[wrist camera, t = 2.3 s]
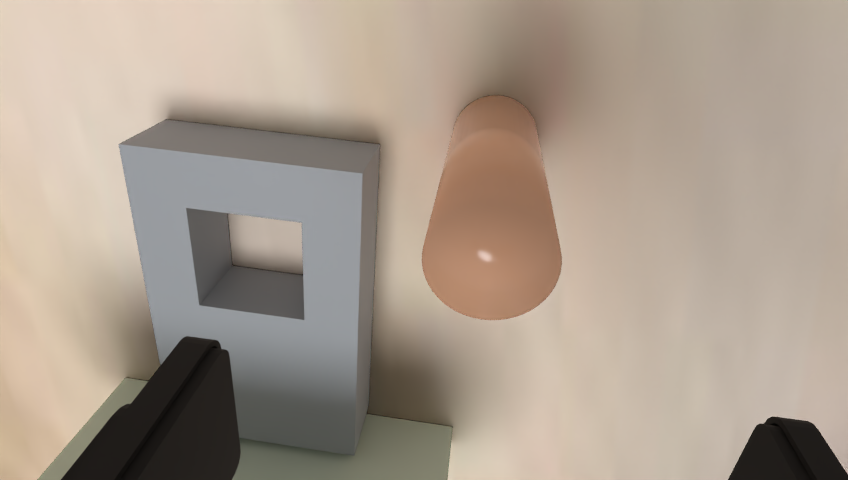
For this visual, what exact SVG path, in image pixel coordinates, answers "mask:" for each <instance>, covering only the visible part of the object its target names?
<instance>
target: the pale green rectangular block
mask: <svg viewBox="0 0 848 480" xmlns="http://www.w3.org/2000/svg"><path fill="white" fill-rule="evenodd" d="M147 382H148V381H144V380H137V379H131V378H125V379H124V380H123V381H122V382H121V384H120V385H119V386H118V387H117V388H116V389H115V390H114V392H113V393H112V394H111V395H110V396H109V397H108V399H107V400H106V401H105V402H104V403H103V404H102V406H101V407H100V408H99V409H98V410H97V411H96V412H95V414H94V415H93V416H92V417H91V418H90V419H89V421H88V422H87V423H86V424H85V425H84V426H83V427H82V429H81V430H80V431H79V432H78V433H77V434H76V436H75V437H74V438H73V439H72V440H71V441H70V442H69V444H68V445H67V446H66V447H65V448H64V449H63V451H62V452H61V453H60V454H59V455H58V456H57V457H56V459H55V460H54V461H53V462H52V463H51V464H50V466H49V467H48V468H47V469H46V470H45V471H44V473H43V474H42V475H41V476H40V477H39V478H38V479H37V480H61V479H62V477H63V476H64V475H65V474H66V472H67V471H68V470H69V469H70V468H71V466H72V465H73V464H74V463H75V461H76V460H77V459H78V458H79V456H80V455H81V454H82V453H83V451H84V450H85V449H86V448H87V446H88V445H89V444H90V443H91V441H92V440H93V439H94V438H95V436H96V435H97V434H98V433H99V431H100V430H101V429H102V428H103V426H104V425H105V424H106V423H107V421H108V420H109V419H110V418H111V416H112V415H113V414H114V413H115V412H116V411H117V410H118V409H119V408H120V407H122V406H124V405H126V404H131V403H132V402H133V400H134V399H135V398H136V396H137V395H138V394H139V393H140V391H141V390H142V389H143V388H144V386H145V385H146V384H147ZM451 438H452V427H450V426H444V425H437V424H430V423H424V422H417V421H410V420H404V419H397V418H390V417H384V416H377V415H371V414H366V417H365V420H364V424H363V427H362V431H361V434H360V438H359V441H358V445H357V448H356V452H355V455H354V456H353V455H346V454H340V453H333V452H327V451H320V450H314V449H308V448H301V447H295V446H288V445H282V444H275V443H269V442H263V441H256V440H250V439H243V438H239V440H240V449H241V454H240V460H239V464H238V468H237V470H236V472H235V475H234V477H233V479H232V480H447V478H448V468H449V458H450V448H451Z"/></svg>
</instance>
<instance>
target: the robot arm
mask: <svg viewBox="0 0 848 480" xmlns="http://www.w3.org/2000/svg"><path fill="white" fill-rule="evenodd" d="M240 454H241V449H240V440H239V432H238V423H237V415H236V406H235V398H234V389H233V381H232V372H231V364H230V356H229V352H228V350H225V349H221V345H220V343H219V341H217V340H212V339H205V338H198V337H190V336H186V337H183V338H182V339H181V340H180V341H179V343H178V344H177V345H176V347H175V348H174V349H173V350H172V352H171V353H170V354H169V356H168V357H167V358H166V359H165V361H164V362H163V363H162V364H161V366H160V367H159V368H158V370H157V371H156V372H155V373H154V375H153V376H152V377H151V379H150V380H149V381H148V382H147V384H146V385H145V386H144V388H143V389H142V390H141V391H140V393H139V394H138V395H137V396H136V398H135V399H134V400H133V402H132V403H131V404H126V405H124V406H122V407H120V408H119V409H118V410H117V411H116V412H115V413H114V414H113V415H112V416H111V418H110V419H109V420H108V421H107V423H106V424H105V425H104V426H103V428H102V429H101V430H100V431H99V433H98V434H97V435H96V436H95V438H94V439H93V440H92V441H91V443H90V444H89V445H88V446H87V448H86V449H85V450H84V451H83V453H82V454H81V455H80V456H79V458H78V459H77V460H76V461H75V463H74V464H73V465H72V466H71V468H70V469H69V470H68V471H67V472H66V474H65V475H64V476H63V477H62V479H61V480H232V479H233V477H234V475H235V472H236V470H237V468H238V464H239V460H240ZM728 480H848V475H847V473H846V472H845V470H844V468H843V467H842V465H841V464H840V462H839V461H838V459H837V458H836V456H835V455H834V453H833V452H832V450H831V449H830V447H829V446H828V444H827V443H826V441H825V439H824V438H823V436H822V435H821V433H820V432H819V430H818V429H817V428H816V427H815V425H814V424H812V423H810V422H809V421H802V420H794V419H787V418H780V417H771V418H769V419H767V421H766V422H765V423H764V424H759V425H757V426H756V427H755V429H754V431H753V433H752V435H751V436H750V438H749V440H748V442H747V444H746V446H745V448H744V450H743V452H742V454H741V456H740V458H739V460H738V462H737V464H736V465H735V467H734V469H733V471H732V473H731V475H730V477H729V479H728Z"/></svg>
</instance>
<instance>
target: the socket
mask: <svg viewBox="0 0 848 480" xmlns="http://www.w3.org/2000/svg"><path fill="white" fill-rule="evenodd" d="M119 149H120V154H121V159H122V164H123V170H124V175H125V180H126V186H127V191H128V196H129V202H130V207H131V212H132V217H133V223H134V228H135V233H136V239H137V244H138V249H139V255H140V260H141V265H142V271H143V276H144V281H145V286H146V292H147V297H148V302H149V308H150V313H151V318H152V324H153V329H154V334H155V340H156V345H157V350H158V355H159V361H160V366H161V364H162V363H163V362H164V361H165V359H166V358H167V357H168V356H169V354H170V353H171V352H172V350H173V349H174V348H175V347H176V345H177V344H178V343H179V341H180V340H181V339H182V338H183V337H186V336H190V337H198V338H205V339H212V340H217V341H219V343H220V345H221V349H225V350H228V352H229V356H230V364H231V372H232V381H233V389H234V398H235V406H236V415H237V423H238V432H239V438H243V439H250V440H256V441H263V442H269V443H275V444H282V445H288V446H295V447H301V448H308V449H314V450H320V451H327V452H333V453H340V454H346V455H353V456H354V455H355V452H356V448H357V445H358V441H359V438H360V434H361V431H362V427H363V424H364V420H365V417H366V413H367V410H368V406H369V386H370V364H371V341H372V318H373V296H374V273H375V250H376V227H377V205H378V182H379V159H380V144H373V143H364V142H356V141H347V140H339V139H330V138H321V137H313V136H304V135H296V134H287V133H279V132H270V131H261V130H253V129H244V128H236V127H227V126H219V125H210V124H201V123H193V122H184V121H176V120H167V119H166V120H164V121H162V122H160V123H158V124H156V125H154V126H153V127H151V128H149V129H147V130H145V131H143V132H141V133H139V134H137V135H135V136H133V137H131V138H129V139H128V140H126V141H124V142H122V143H120V144H119ZM227 213H230V214H238V215H246V216H254V217H261V218H269V219H277V220H285V221H293V222H301V223H302V249H303V275H297V274H290V273H282V272H275V271H267V270H260V269H253V268H245V267H238V266H232V257H231V247H230V237H229V227H228V216H227Z"/></svg>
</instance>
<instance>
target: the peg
mask: <svg viewBox="0 0 848 480" xmlns="http://www.w3.org/2000/svg"><path fill="white" fill-rule="evenodd" d="M561 265H562V256H561V250H560V244H559V239H558V234H557V229H556V224H555V219H554V214H553V209H552V204H551V199H550V194H549V189H548V184H547V179H546V174H545V169H544V164H543V159H542V154H541V149H540V143H539V138H538V133H537V128H536V124H535V121H534V119H533V117H532V115H531V114H530V112H529V111H528V110H527V108H526V107H525V106H523V105H522V104H521V103H519V102H518V101H516V100H514V99H512V98H509V97H506V96H500V95H492V96H486V97H482V98H479V99H477V100H475V101H473V102H472V103H470V104H469V105H468V106H467V107H465V108H464V109H463V111H462V112H461V113H460V115H459V116H458V118H457V120H456V122H455V125H454V128H453V132H452V136H451V140H450V144H449V148H448V152H447V156H446V160H445V164H444V168H443V172H442V176H441V179H440V183H439V187H438V191H437V195H436V199H435V203H434V207H433V211H432V215H431V219H430V223H429V227H428V230H427V234H426V238H425V242H424V246H423V252H422V266H423V271H424V275H425V278H426V280H427V282H428V285H429V286H430V288H431V289H432V291H433V292H434V293H435V295H436V296H437V297H438V298H439V299H440V300H441V301H442V302H443V303H444V304H446V305H447V306H449V307H450V308H452V309H453V310H455V311H457V312H459V313H461V314H464V315H466V316H469V317H473V318H478V319H484V320H501V319H508V318H512V317H516V316H519V315H522V314H524V313H526V312H528V311H530V310H532V309H534V308H535V307H537V306H538V305H539V304H540V303H542V302H543V301H544V300H545V299H546V298H547V297H548V296H549V294H550V293H551V292H552V290H553V289H554V287H555V285H556V283H557V281H558V278H559V275H560V272H561Z"/></svg>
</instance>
